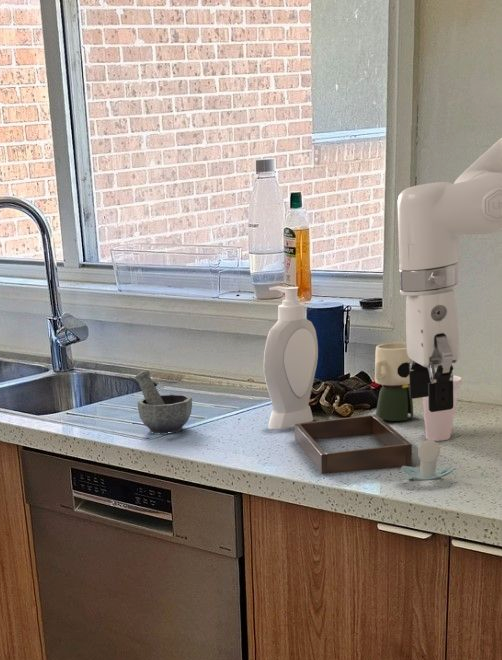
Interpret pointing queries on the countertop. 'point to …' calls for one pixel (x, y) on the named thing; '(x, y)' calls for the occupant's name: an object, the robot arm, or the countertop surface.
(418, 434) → the countertop surface
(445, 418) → the smoothie
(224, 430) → the countertop surface
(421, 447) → the pacifier
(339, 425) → the crate
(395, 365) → the character mug
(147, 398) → the mortar and pestle
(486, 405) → the countertop surface
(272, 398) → the soap bottle
